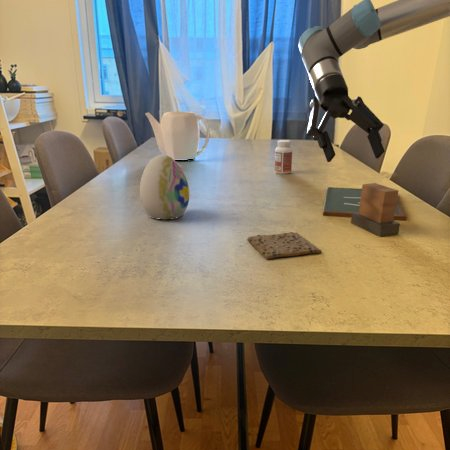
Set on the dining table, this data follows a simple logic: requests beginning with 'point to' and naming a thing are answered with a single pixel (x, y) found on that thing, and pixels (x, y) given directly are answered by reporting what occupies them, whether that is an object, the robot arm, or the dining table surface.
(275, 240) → the cookie
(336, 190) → the chalkboard
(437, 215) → the dining table surface
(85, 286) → the dining table surface
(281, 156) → the pill bottle
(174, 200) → the decorative egg
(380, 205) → the eraser
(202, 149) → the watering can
